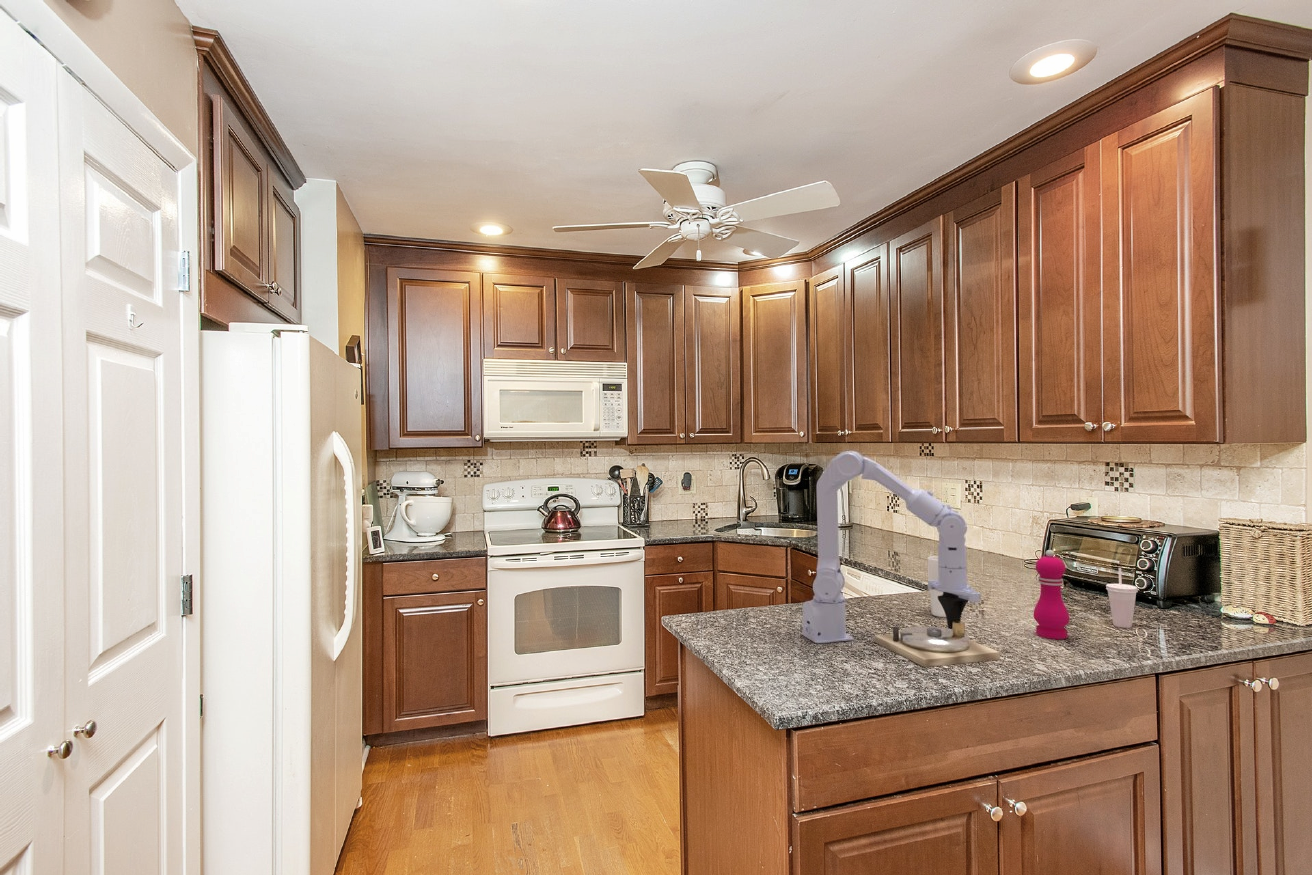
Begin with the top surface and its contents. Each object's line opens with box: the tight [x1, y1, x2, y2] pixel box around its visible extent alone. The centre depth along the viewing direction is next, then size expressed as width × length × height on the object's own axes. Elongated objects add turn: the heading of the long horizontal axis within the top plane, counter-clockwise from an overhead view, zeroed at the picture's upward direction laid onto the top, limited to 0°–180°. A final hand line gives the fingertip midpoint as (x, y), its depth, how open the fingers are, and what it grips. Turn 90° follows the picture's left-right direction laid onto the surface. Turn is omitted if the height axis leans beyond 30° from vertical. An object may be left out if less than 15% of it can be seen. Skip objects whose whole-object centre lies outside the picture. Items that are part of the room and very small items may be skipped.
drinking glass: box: [926, 555, 946, 618], centre depth 174 cm, size 7×7×15 cm
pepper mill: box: [1033, 549, 1070, 640], centre depth 155 cm, size 7×7×20 cm
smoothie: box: [1105, 567, 1139, 629], centre depth 162 cm, size 6×6×14 cm
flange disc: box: [899, 621, 971, 652], centre depth 145 cm, size 14×14×4 cm
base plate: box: [874, 626, 1001, 668], centre depth 145 cm, size 18×18×4 cm
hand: (953, 628), depth 146 cm, fingers closed
